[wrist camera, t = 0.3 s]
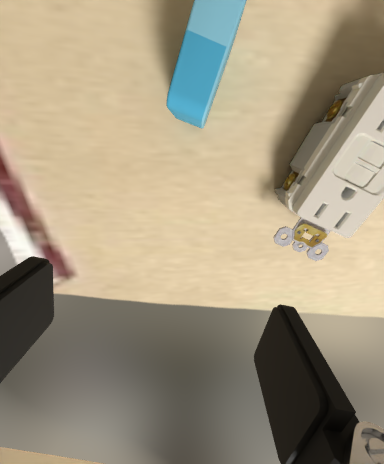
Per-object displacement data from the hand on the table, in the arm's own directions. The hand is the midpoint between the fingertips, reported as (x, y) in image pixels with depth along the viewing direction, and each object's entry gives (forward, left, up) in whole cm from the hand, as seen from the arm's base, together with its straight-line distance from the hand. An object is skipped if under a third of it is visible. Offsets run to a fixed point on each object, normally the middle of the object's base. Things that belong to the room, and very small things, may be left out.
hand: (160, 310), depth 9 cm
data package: (-16, -1, -31) cm, 35 cm away
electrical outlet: (-9, +21, -31) cm, 39 cm away
